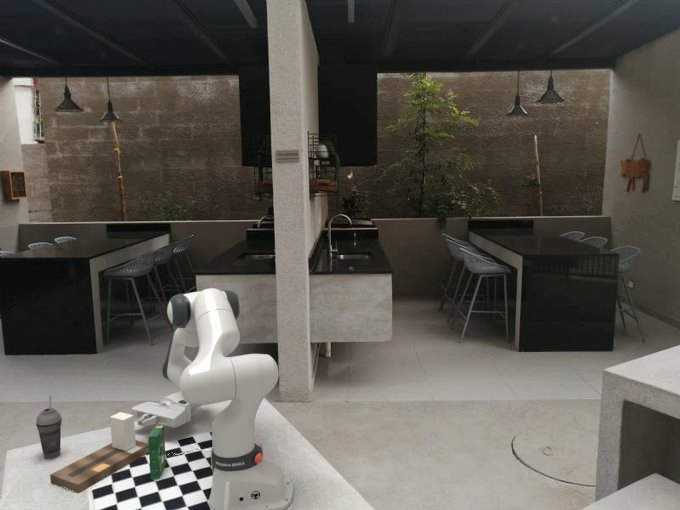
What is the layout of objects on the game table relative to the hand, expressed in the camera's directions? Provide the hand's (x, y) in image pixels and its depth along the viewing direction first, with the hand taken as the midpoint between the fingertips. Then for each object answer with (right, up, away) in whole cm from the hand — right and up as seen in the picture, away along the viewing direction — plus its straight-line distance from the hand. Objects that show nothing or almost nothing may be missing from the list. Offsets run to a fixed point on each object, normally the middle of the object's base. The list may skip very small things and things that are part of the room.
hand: (140, 423), depth 175 cm
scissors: (+21, -8, -3) cm, 23 cm away
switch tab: (-3, -5, -5) cm, 8 cm away
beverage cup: (-26, -9, -5) cm, 28 cm away
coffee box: (+11, -9, -16) cm, 22 cm away
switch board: (-7, -9, -12) cm, 17 cm away
